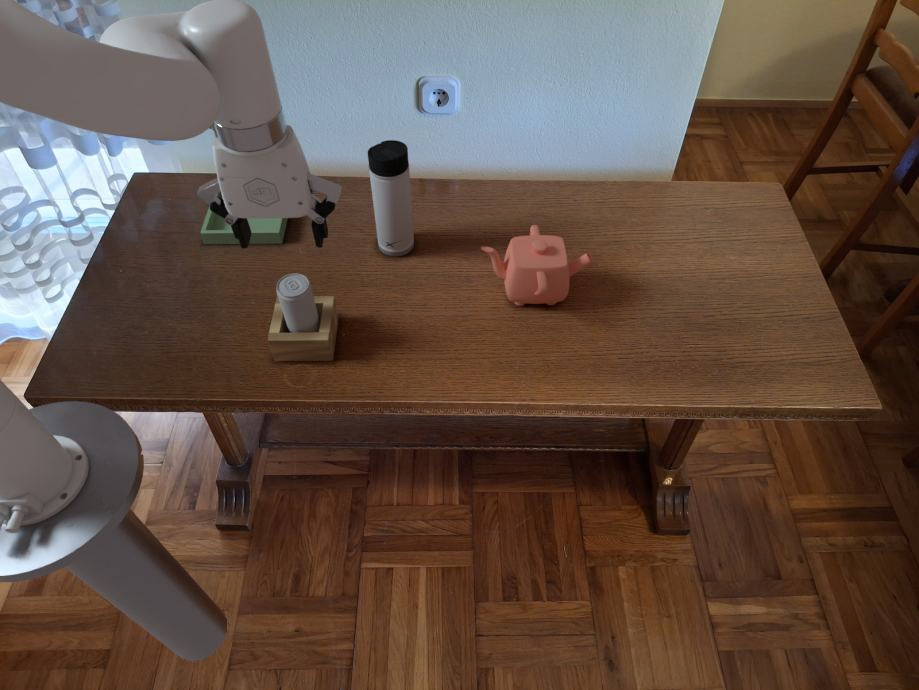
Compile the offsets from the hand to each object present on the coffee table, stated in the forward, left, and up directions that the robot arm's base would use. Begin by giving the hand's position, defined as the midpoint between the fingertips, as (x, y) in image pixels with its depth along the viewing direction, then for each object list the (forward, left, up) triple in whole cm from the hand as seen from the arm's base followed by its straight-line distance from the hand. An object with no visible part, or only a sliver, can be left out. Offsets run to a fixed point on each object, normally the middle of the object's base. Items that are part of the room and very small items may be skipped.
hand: (283, 240), depth 85 cm
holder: (0, +1, -20) cm, 20 cm away
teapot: (+10, -35, -21) cm, 42 cm away
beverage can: (0, +1, -21) cm, 21 cm away
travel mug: (+21, -12, -21) cm, 32 cm away
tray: (+28, +15, -20) cm, 38 cm away
